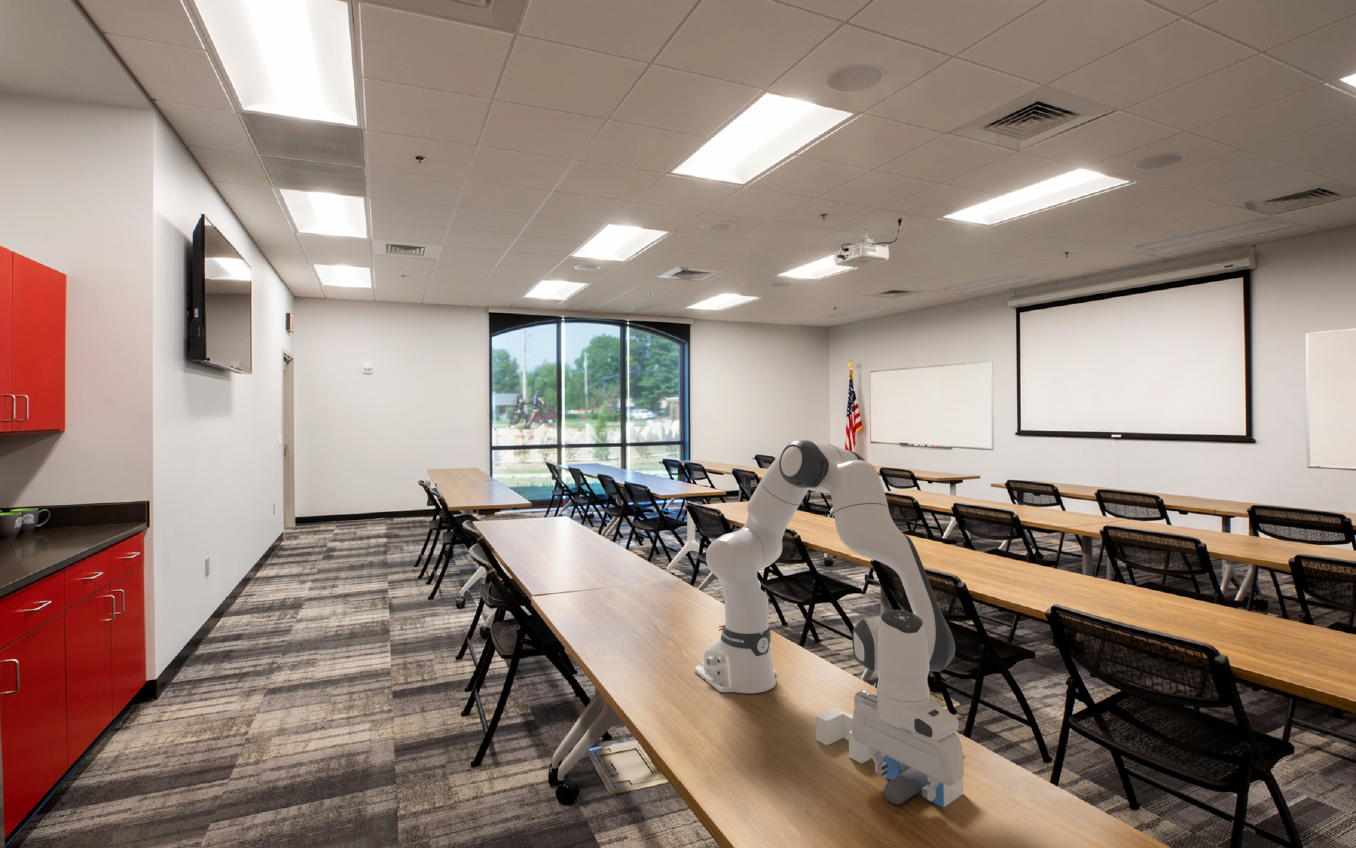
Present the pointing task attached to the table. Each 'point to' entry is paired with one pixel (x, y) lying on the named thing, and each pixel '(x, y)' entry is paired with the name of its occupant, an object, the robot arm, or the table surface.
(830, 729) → the white slotted rack
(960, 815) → the table surface
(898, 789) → the gray pill-shaped peg
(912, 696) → the robot arm
